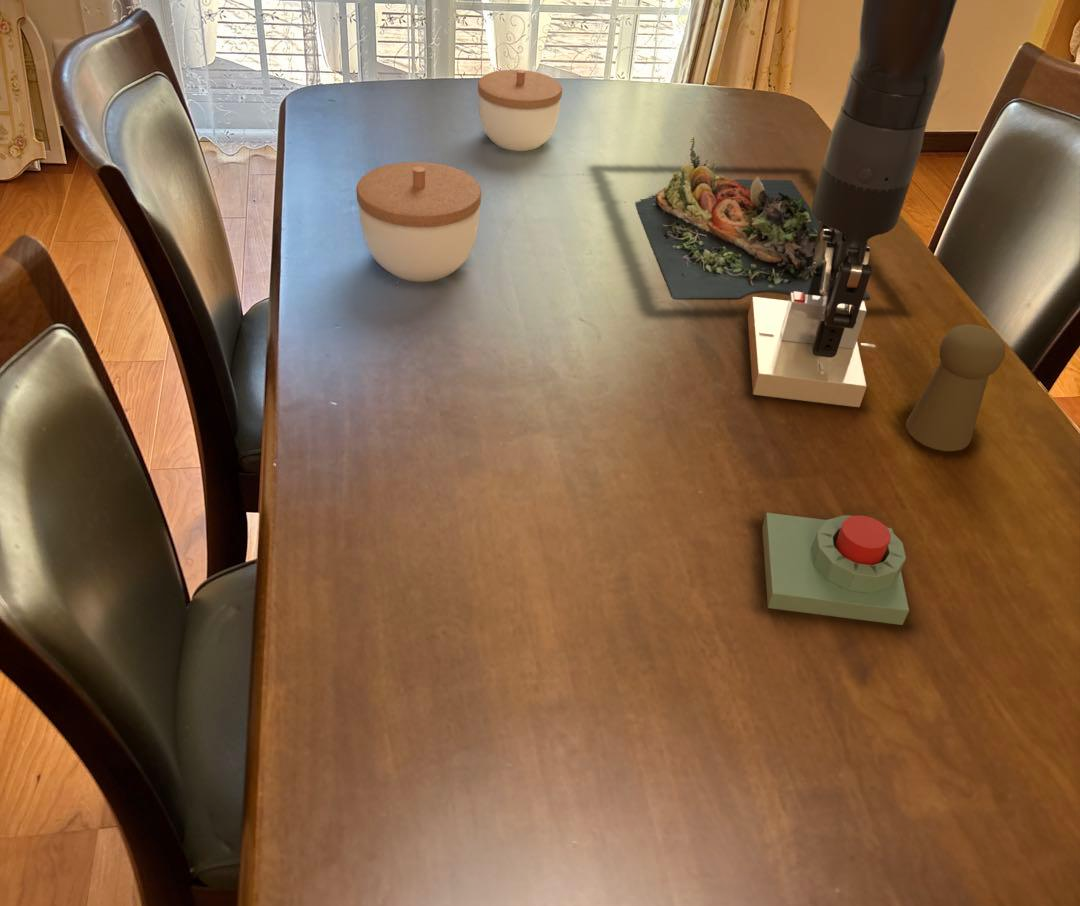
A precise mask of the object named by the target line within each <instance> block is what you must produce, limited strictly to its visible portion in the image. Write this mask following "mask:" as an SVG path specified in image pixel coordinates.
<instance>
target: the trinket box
mask: <svg viewBox="0 0 1080 906" xmlns="http://www.w3.org/2000/svg"><path fill="white" fill-rule="evenodd" d="M477 92H478V114H479V120H480V123H481V125H482V126H481V127H482V129H483V132H485V134H486V136H487V137H488V138H489V140H490V141H491V142H492V143H493V144H495V145H496V146H498V147H500V148H502V149H505V150H508V151H509V150H510V151H516V152H525V151H531V150H535V149H538V148H539V147H541V146H542V145H544V144H545V143H546V142H547V141H548V140H549V139H550V137H551V136H552V134H553V133H554V131H555V129H556V126H557V123H558V119H559V115H560V110H561V109H560V108H561V99H562V96H563V87H562V85H561V83H560V82H559V81H558V80H556V79H555V78H553V77H551V76H549V75H547V74H545V73H541V72H536V71H532V70H525V69H504V70H503V69H502V70H495V71H492V72H489V73H487V74H484V75H483V76H481V77H480V78H479V80H478V82H477Z"/></svg>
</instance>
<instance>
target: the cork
mask: <svg viewBox="0 0 1080 906" xmlns="http://www.w3.org/2000/svg"><path fill="white" fill-rule="evenodd" d="M1005 347H1006V346H1005V342H1004V339H1002V337H1001V336H1000V335H999V334H997V333H996V332H995V331H994V330H992V329H989V328H988V327H985V326H983V325H977V324H972V323H971V324H968V323H967V324H966V323H965V324H960V325H959V324H958V325H956V326H955V327H953V328H951V329H950V330H949V331H948V332H947V333H945V336H944V337H943V339H942V340H941V342H940V346H939V360H940V362H939V364H938V365H937V367H936V369H935V371H934V372H933V374H932V376H931V378H930V380H929V381H928V383H927V385H926V386H925V388H924V390H923V392H922V394H921V395H920V397H919V399H918V400H917V402H916V404H915V406H913V409H912V410H911V412H910V414H909V416H908V417H907V419H906V421H905V428H906V431H907V432H908V434H909V435H910V436H911V437H912V438H913V439H914V440H915V441H916V442H918V443H920V444H921V445H923V446H925V447H928V448H930V449H933V450H937V451H942V452H956V451H962V450H964V449H965V448H967V447H969V445H970V443H971V442H972V438H973V434H974V430H975V427H976V423H977V420H978V416H979V413H980V410H981V405H982V403H983V398H984V394H985V391H986V387H987V384H988V380H989V377H990V376H991V375H992V374H993V375H994V373H996V372H997V370H998V369H999V368H1000V367H1001V365H1002V363H1003V361H1004V358H1005V354H1006V348H1005Z"/></svg>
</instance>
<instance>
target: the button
mask: <svg viewBox="0 0 1080 906" xmlns="http://www.w3.org/2000/svg"><path fill="white" fill-rule="evenodd" d="M851 516H852V517H849V518H847V519H846V520H845V521H844V522H843V524H842V527H841V529H840V532H839V535H838V537H837V540H836V547H837V549H838V551H839V552H840V554H841V555H842V556H843V557H845V558H847V559H849V560H851V561H853V562H855V563H858V564H866V565H872V564H876V563H878V562H879V561H881V560H882V558H883V557H884V554H885V552H886V550H887V547H888V545H889V542H890V540H891V535H890V532H889V530H888V528H889V527H888V526H886V525H885V524H884V523H883V522H881V521H880V520H878V519H876V518H874V517H870V516H867V515H851ZM887 527H888V528H887Z"/></svg>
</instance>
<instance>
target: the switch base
mask: <svg viewBox="0 0 1080 906" xmlns="http://www.w3.org/2000/svg"><path fill="white" fill-rule="evenodd" d="M788 301H789V300H784V299H775V298H768V297H758V296H751V300H750V305H749V310H748V314H747V328H748V342H749V355H750V356H749V357H750V370H751V372H750V373H751V385H752V395H753V396H761V397H762V396H763V397H770V398H777V399H787V400H794V401H795V400H796V401H805V402H812V403H821V404H828V405H829V404H830V405H837V406H846V407H852V408H860V407H861V406H862V405H861V403H862V401H863V399H864V395H865V394H866V393H865V392H866V390H867V386H868V385H867V380H866V376H865V371H864V367H863V363H862V358H861V357H862V356H861V351H860V348H859V345H860V347H863V348H873V349H875V348H876V344H874V343H873V344H872V343H864V342H861V343H860V344H859V343H858V341H857V342H856V345H855V348H854V349H851V348H843V347H838V351H837V354H836V355H835V356H834V357H831V358H830V357H821V356H815V355H814V354H813V351H812V346H813V344H809V343H801V342H792V341H784V340H782V337H781V327H782V324H783V320H784V316H785V312H786V309H787V305H788Z"/></svg>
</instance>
